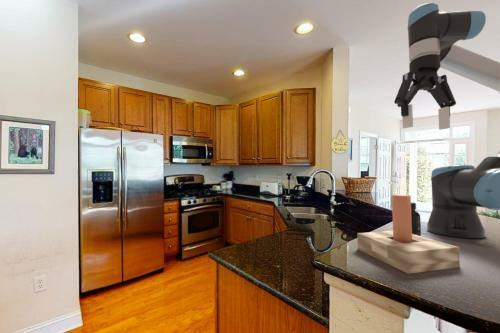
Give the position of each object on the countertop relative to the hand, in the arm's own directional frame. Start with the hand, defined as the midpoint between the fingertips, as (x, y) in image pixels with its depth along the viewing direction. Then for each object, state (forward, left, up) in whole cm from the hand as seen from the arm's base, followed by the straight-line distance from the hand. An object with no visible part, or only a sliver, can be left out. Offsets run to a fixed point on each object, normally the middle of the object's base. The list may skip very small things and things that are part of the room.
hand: (426, 128), depth 69 cm
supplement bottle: (+4, -4, -35) cm, 35 cm away
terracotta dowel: (+17, +7, -33) cm, 38 cm away
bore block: (+17, +7, -35) cm, 39 cm away
